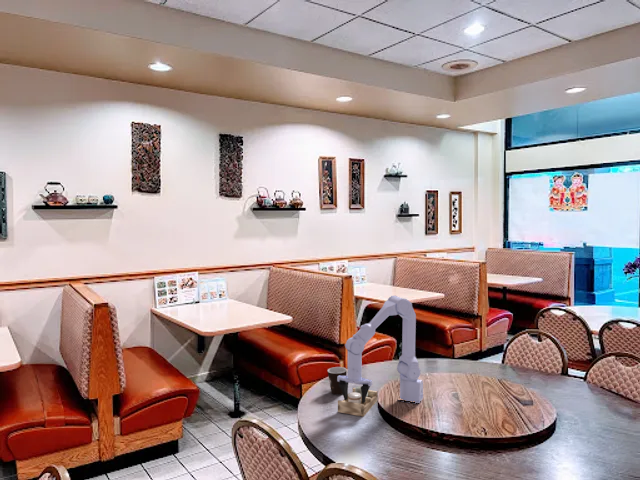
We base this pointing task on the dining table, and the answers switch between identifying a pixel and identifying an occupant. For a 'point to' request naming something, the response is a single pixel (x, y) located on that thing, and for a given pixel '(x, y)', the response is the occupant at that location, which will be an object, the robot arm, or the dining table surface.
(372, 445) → the dining table surface
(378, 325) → the robot arm
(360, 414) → the rack
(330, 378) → the coffee mug
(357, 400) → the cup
